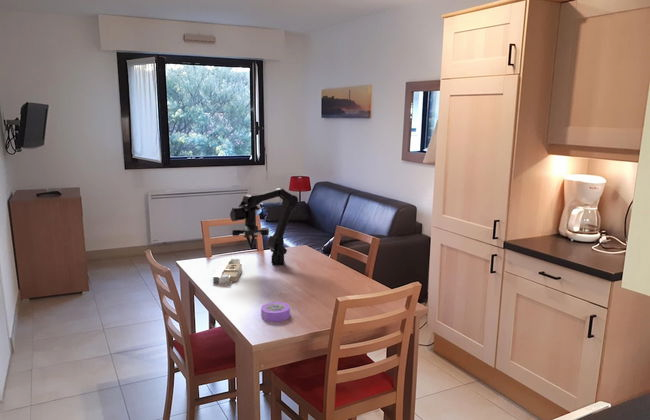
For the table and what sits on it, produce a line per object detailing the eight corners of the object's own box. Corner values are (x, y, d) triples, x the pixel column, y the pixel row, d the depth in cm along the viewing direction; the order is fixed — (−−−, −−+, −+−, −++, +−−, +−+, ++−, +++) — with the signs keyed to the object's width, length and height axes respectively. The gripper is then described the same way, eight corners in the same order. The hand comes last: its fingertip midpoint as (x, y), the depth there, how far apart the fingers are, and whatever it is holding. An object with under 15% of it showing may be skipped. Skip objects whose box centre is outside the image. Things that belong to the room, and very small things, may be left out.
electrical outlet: (221, 274, 234) (228, 263, 252) (221, 282, 235) (228, 270, 253) (235, 274, 234) (241, 263, 252) (235, 282, 235) (241, 271, 253)
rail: (240, 265, 261) (239, 258, 260) (229, 284, 231) (229, 277, 230) (225, 265, 261) (225, 258, 260) (212, 284, 230) (212, 277, 230)
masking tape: (255, 317, 194) (255, 308, 194) (273, 308, 204) (273, 299, 203) (277, 324, 188) (277, 315, 187) (295, 314, 198) (295, 306, 197)
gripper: (230, 222, 242) (231, 252, 245) (267, 222, 243) (268, 251, 246) (233, 217, 253) (234, 246, 256) (268, 217, 254) (269, 245, 257)
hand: (251, 247), depth 253 cm, fingers closed
